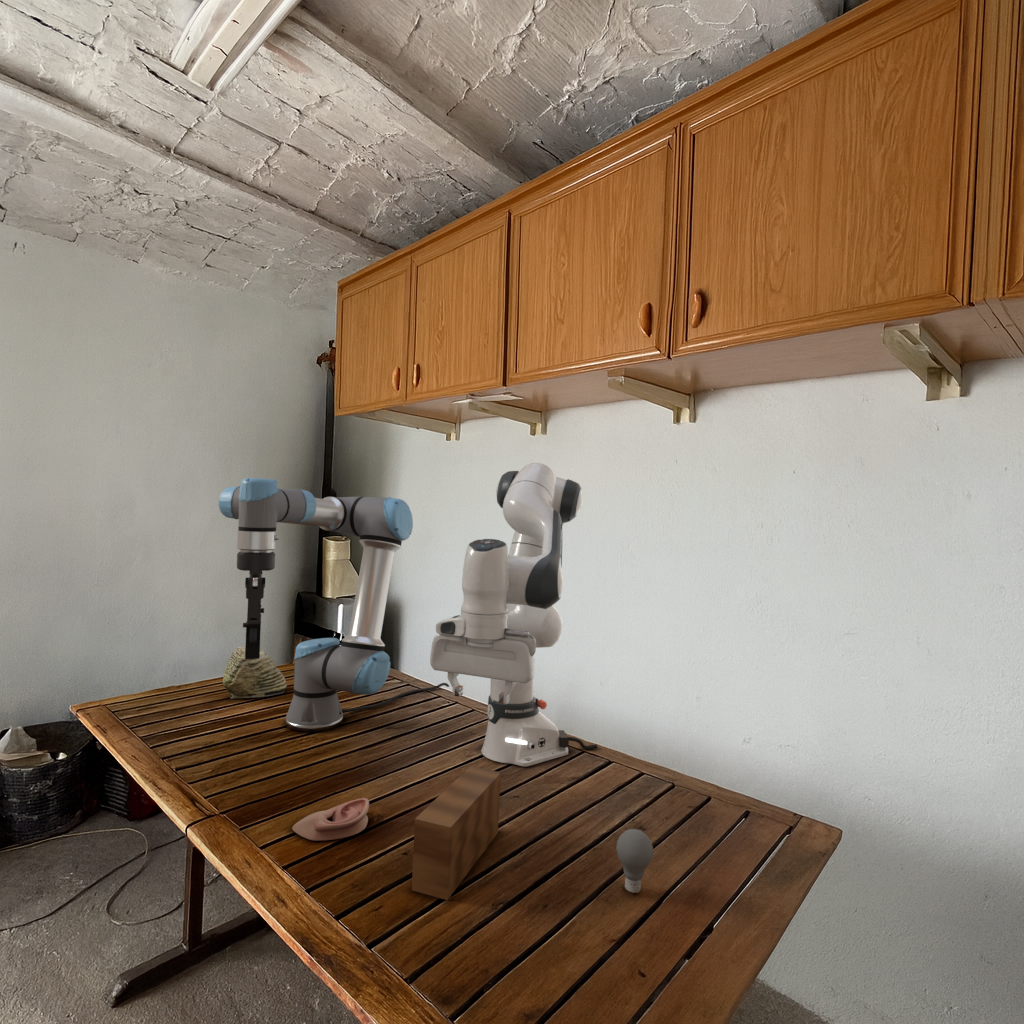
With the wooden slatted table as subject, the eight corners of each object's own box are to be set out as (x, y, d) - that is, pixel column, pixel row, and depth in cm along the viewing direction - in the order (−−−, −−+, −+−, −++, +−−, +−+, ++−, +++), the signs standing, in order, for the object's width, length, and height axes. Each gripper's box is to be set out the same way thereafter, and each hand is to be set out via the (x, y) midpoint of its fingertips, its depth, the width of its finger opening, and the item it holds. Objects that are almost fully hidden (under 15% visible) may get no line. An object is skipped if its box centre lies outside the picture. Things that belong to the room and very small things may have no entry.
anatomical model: (284, 814, 117) (315, 787, 129) (283, 836, 118) (314, 807, 129) (350, 825, 115) (376, 796, 126) (349, 847, 115) (375, 816, 126)
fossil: (218, 695, 195) (220, 647, 195) (278, 685, 208) (279, 640, 207) (228, 703, 189) (230, 653, 188) (289, 692, 201) (290, 645, 201)
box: (447, 900, 101) (450, 827, 101) (411, 890, 103) (414, 818, 103) (498, 832, 122) (500, 772, 122) (467, 825, 125) (470, 765, 124)
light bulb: (610, 879, 108) (613, 822, 108) (644, 879, 109) (647, 822, 109) (619, 902, 102) (622, 840, 102) (655, 901, 103) (658, 840, 103)
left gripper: (276, 556, 124) (272, 664, 124) (274, 546, 147) (271, 637, 148) (234, 556, 121) (230, 666, 122) (239, 545, 144) (236, 638, 145)
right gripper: (541, 629, 118) (538, 702, 119) (442, 617, 125) (439, 687, 125) (531, 635, 112) (527, 713, 113) (427, 623, 119) (424, 696, 120)
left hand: (252, 650), depth 135 cm, fingers open, 13 cm apart
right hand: (480, 699), depth 119 cm, fingers open, 8 cm apart
